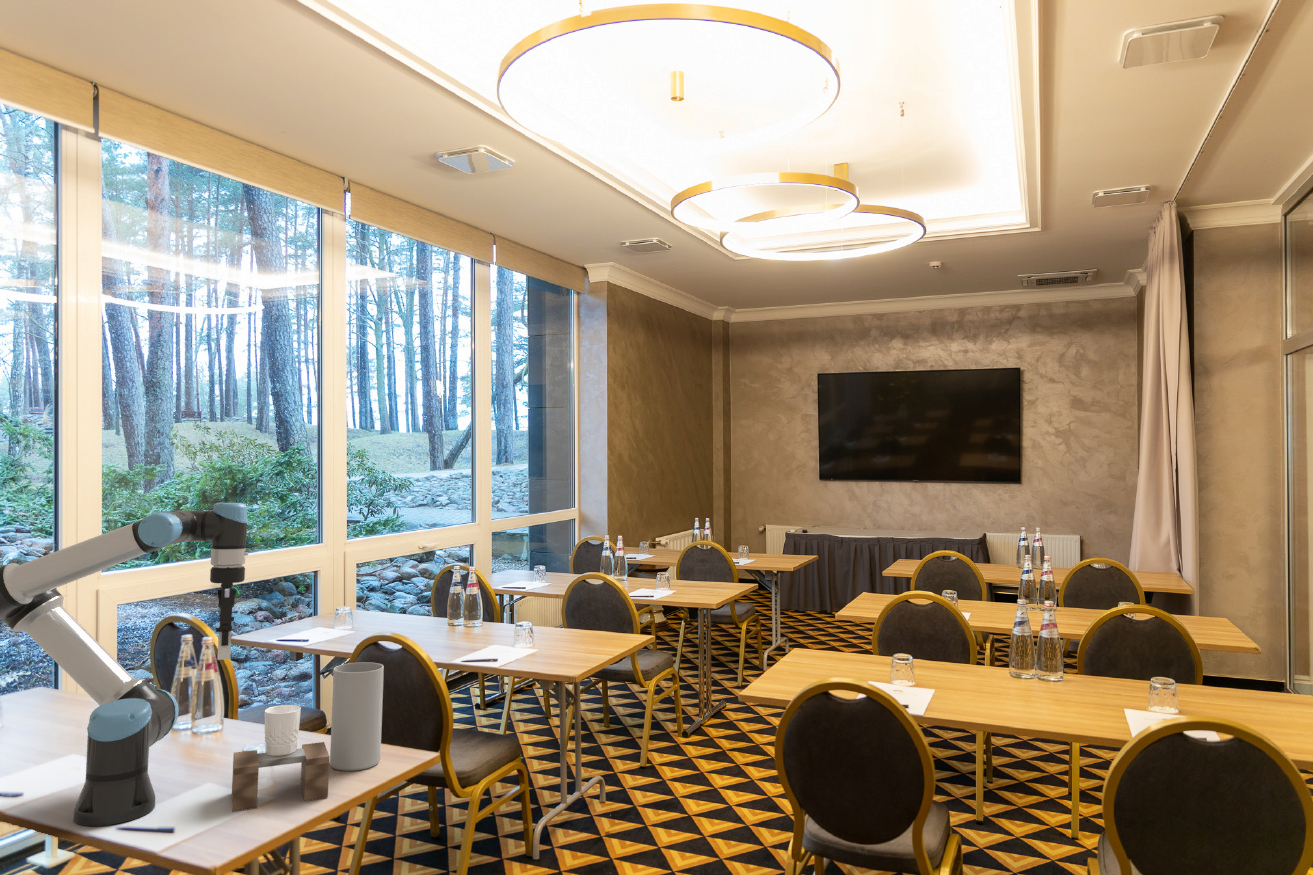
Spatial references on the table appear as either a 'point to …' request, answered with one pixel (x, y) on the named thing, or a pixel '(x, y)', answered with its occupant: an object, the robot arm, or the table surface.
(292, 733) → the white cup
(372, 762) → the cylinder vase
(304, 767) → the shelf
